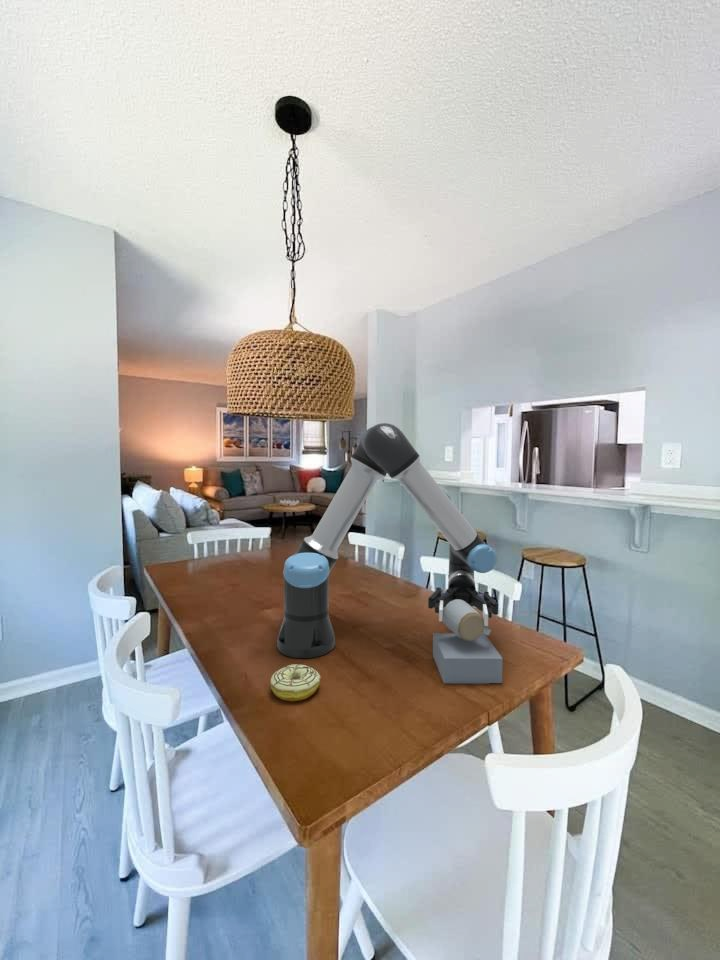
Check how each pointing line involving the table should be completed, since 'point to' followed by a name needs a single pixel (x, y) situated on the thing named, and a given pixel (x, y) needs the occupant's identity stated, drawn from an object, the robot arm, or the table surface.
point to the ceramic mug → (464, 620)
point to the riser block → (466, 659)
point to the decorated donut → (295, 682)
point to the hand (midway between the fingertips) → (463, 617)
